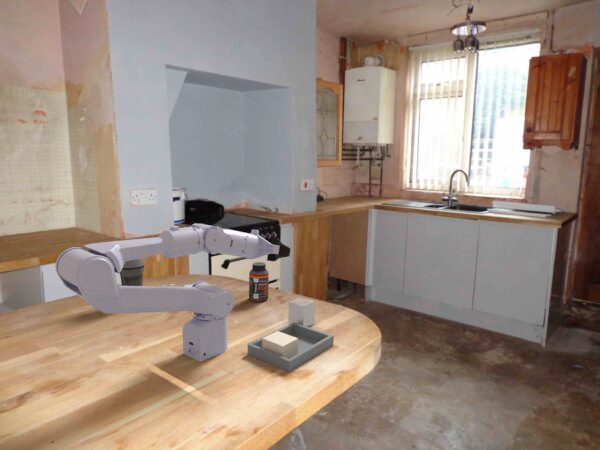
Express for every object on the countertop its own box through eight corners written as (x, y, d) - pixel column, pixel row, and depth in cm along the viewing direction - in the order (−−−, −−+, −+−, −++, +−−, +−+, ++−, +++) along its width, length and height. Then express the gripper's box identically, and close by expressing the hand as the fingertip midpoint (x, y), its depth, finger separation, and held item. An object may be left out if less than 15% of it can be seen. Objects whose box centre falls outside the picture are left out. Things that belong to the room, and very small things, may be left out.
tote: (289, 375, 86) (289, 361, 86) (247, 357, 94) (247, 344, 93) (333, 347, 99) (333, 335, 98) (293, 333, 106) (293, 322, 106)
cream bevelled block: (283, 364, 89) (283, 346, 89) (262, 355, 93) (262, 338, 92) (297, 355, 93) (298, 338, 92) (277, 347, 97) (277, 330, 96)
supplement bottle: (259, 304, 126) (259, 267, 124) (244, 299, 130) (244, 263, 128) (272, 298, 131) (272, 263, 129) (258, 294, 134) (258, 260, 133)
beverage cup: (119, 301, 126) (115, 235, 123) (145, 298, 130) (142, 234, 126) (120, 309, 120) (116, 240, 117) (147, 306, 123) (144, 238, 120)
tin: (303, 332, 107) (303, 306, 106) (288, 327, 110) (288, 301, 109) (314, 326, 111) (314, 301, 109) (299, 322, 113) (300, 297, 112)
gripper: (262, 228, 93) (301, 237, 103) (220, 224, 103) (260, 233, 113) (257, 260, 93) (297, 266, 103) (215, 253, 102) (256, 259, 112)
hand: (277, 250), depth 108 cm, fingers open, 7 cm apart
